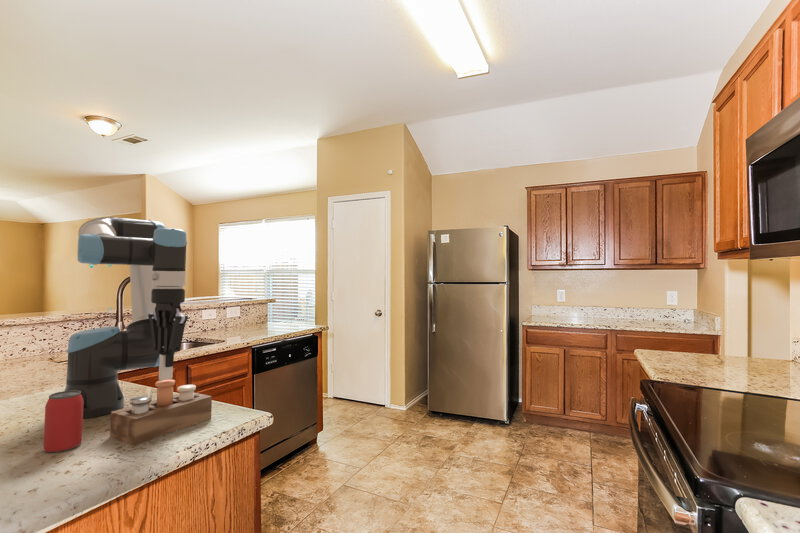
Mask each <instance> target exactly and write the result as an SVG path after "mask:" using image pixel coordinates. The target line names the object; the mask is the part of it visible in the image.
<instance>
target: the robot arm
mask: <svg viewBox="0 0 800 533" xmlns="http://www.w3.org/2000/svg"><path fill="white" fill-rule="evenodd" d="M77 234H78V239H77V251H76V252H77V254H76V255H77V261H78V262H79V263H81V264H88V265H89V264H90V265H96V266H97V265H120V266H121V265H122V266H123V265H124V266H125V265H127V266H129V278H130V281H129V282H130V299H131V300H130V303H131V305H130V306H131V322H129V323H128V324H127V325H126V330H121V329H120V327H119V326H105V327H103V326H102V327H97V328H90V329H86V330H81V331H78V332H75V333H73V334H71V336H69V338H68V343H67V350H66V353H67V360H66V363H67V366H66V380H65V381H66V384H65V388H64V391H71V390H77V391H80V392H81V395H82V397H83V401H84V403H83V420H84V419H89V418H95V417H100V416H104V415H108V414H111V412H113V411H116V410H120V409H123V407H125V406H124V405H125V398H124V394H123V391H122V389H121V386H120V383H119V381H118V380H119V379H118V378H119V376H118V374H119V372H120V371H128V370H137V369H145V368H146V369H147V368H156V367H158V381H163V380H173V377H174V376H173V373H174V372H173V371H174V363H175V362H174V358H175V353H178V352H181V347H182V343H183V338H184V337H183V336H184V332H185V327H186V324H187V322H188V319H189V317H188V314H186V315H184V314H183V313H182V307H181V304H182V303H185V301H186V300H185V299H186V290H185V289H184V288H183V287H186V277H187V276H186V274H187V273H186V264H187V262H186V261H187V246H188V241H187V232H186V231H185V230H184V229H179V228H172V227H171V228H170V227H168V228H167V227H166V226H165V224H164V223H162V222H161V221H156V220H151V219H147V220H146V219H139V218H137V219H135V218H127V217H117V216H104V217H103V216H102V217H97V218H96V217H95V218H93V219H90V220H88V221H85V222H84V223H83V224H82V225H80V227H79V230H78V232H77Z"/></svg>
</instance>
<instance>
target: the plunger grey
mask: <svg viewBox="0 0 800 533" xmlns="http://www.w3.org/2000/svg"><path fill="white" fill-rule="evenodd" d="M152 399H153V398H152V396H151V395H141V396H136V397H132V398H131V399H130V400H129V404H130V406H132V414H134V415H138V414H142V413H145V412H149V406H150V402H151V401H153V400H152Z"/></svg>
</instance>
